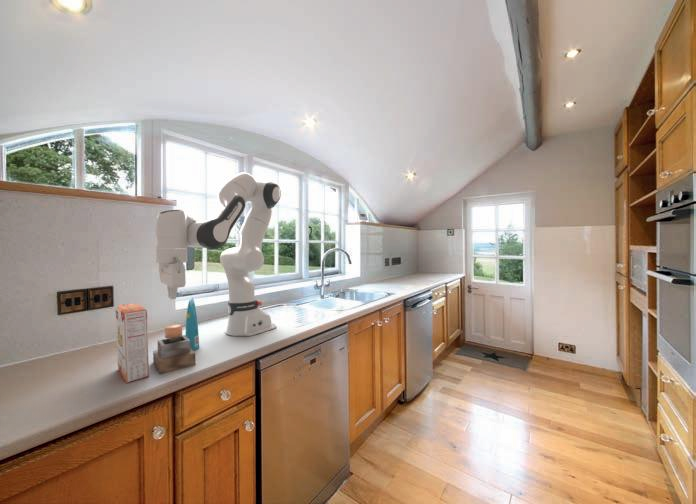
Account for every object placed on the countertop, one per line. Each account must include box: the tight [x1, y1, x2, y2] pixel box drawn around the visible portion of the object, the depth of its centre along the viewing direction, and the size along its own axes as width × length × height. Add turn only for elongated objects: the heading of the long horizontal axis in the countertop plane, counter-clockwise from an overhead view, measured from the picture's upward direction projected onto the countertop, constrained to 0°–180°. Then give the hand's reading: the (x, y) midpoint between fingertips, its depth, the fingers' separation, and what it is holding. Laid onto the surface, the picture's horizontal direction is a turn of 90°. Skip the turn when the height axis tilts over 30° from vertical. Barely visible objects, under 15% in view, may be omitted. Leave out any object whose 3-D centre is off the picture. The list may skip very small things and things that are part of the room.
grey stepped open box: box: [152, 334, 196, 375], centre depth 93 cm, size 10×12×8 cm
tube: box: [184, 297, 200, 351], centre depth 106 cm, size 7×5×19 cm, turn 25°
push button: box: [164, 324, 183, 343], centre depth 93 cm, size 5×5×5 cm
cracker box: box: [115, 303, 150, 384], centre depth 86 cm, size 14×6×21 cm, turn 47°
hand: (172, 298), depth 93 cm, fingers closed
